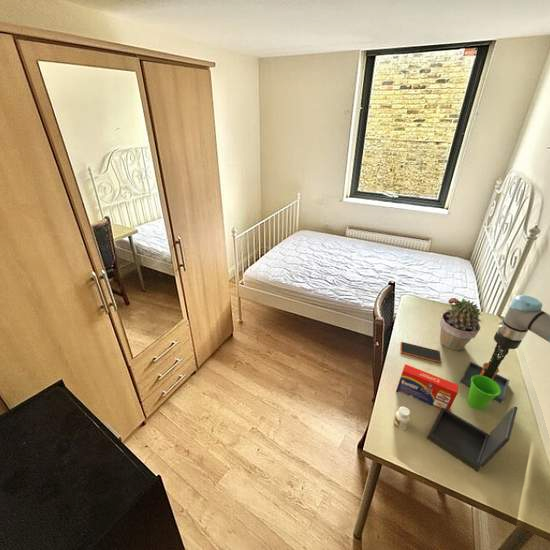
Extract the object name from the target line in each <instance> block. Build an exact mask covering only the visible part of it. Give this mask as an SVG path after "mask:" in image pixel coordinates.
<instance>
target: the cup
mask: <svg viewBox="0 0 550 550" xmlns="http://www.w3.org/2000/svg"><path fill="white" fill-rule="evenodd" d="M468 391H469V392H468V396H467V399H466V400H467V403H468V405H469V406H470V407H472V408H473V409H475V410H479V411H482V410H483V409H485V408H486V407H487V406H488V405H489V404H490V403H491V402H492V401H494V400H493V399H494V398H495V397H496V396H498V395H499V394H500V393H501V389H500V387H499V385H498V384H497V383H496V382H495V381H493V380H492V379H490V378H488V377H486V376H482V375H475V376H473V377H472V378H471V387H470V388H469V390H468Z"/></svg>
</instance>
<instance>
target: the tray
mask: <svg viewBox="0 0 550 550" xmlns="http://www.w3.org/2000/svg"><path fill="white" fill-rule="evenodd" d="M482 369H483V366H480V365H479V364H476V363H474V362H472V361H469V362H468V365H467V366H466V369H465V371H464V373H463V375H462V377H461V379H460V381H459V384H462V385H464V386H466V387H468V388H469V389H470V387H471V378H472V377H473V376H475V375H480V373H481V371H482ZM493 381H495V382H496V383H497V384H498V385H499V387H500V389H501V393H500V394H499V395H498V396H496V397H495V398H494V399H493V400H492V401H495V402H497V403H498V404H502V403H503V402H504V400H505V397H506V393H507V390H508V387H509V383H510V379H509V378H506V377H504V376H502V375H500V374H499V373H497V374H496V375H495V377H494V379H493Z"/></svg>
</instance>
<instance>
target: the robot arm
mask: <svg viewBox="0 0 550 550" xmlns="http://www.w3.org/2000/svg"><path fill="white" fill-rule="evenodd" d="M542 308H543V303H542V302H541V301H540V300H539V299H538V298H535V297H533V296H530V295H527V294H522V295H516V296H515V297H514V299H513V300H512V302H511V303H510V305H509V307H508V309H507V311H506V312H505V315H504V317H503V319H502V321H499V322H498V325H499V327H498V329H497V330H496V332H495V334H494V337H493V340H494V342H495V343H496V344H495V347H494V351H493V353H492V355H491V358H490V360H489V361H488V363H490V364H489V366H488V368H487V369H485V368H484V370H485V372H484V374H483V376H486V377H488V378H490V379H491V378H492V376H494V373H495V372H496V370H497V368H498V369H499V366H500V365H501V364H502V361H504V359H505V358H506V356H507V355H508V354H509V352H510V350H516V349H518V348H519V347H520V345H521V343H522V342H523V340H524V338H525V337H526V335H527V333H528V331H529V332H531V333H533V334H535V335H536V336H537V337H540V338H541V339H543V340H545V341H546V342H548V343H550V314H549V313H548V312H545V311H543V310H542Z"/></svg>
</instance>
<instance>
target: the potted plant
mask: <svg viewBox="0 0 550 550" xmlns="http://www.w3.org/2000/svg"><path fill="white" fill-rule="evenodd" d="M447 301H448V302H447V303H448V304H449V306H450V309H449V308H448V309H447V310H446V309H445V310H446V311H445V312H441V311H440V313H442V314H441V316H440V320H439V327H440V333H439V335H440V336H439V340H440V343H441V345H442V346H443V347H445V348H447V349H449V350H452V351H457V352H458V351H461V350H463V349H464V348H465V347H466V346H467V344H469V342H470V341H472V339H475V338H476V337H477V335H478V333H479V332H481V333H482V331H481V325H480V323H482V324H483V323H484V322H483V319H480V318H479V316H480V315H482V314H481V312H480V310H481V309H480V308H479V306H478V304H477V303H475V301H471V300H470V299H469V300H468V301H467V299H465V298H462V299H461V301H460V298H456V297H452V298H449V300H447Z"/></svg>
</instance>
